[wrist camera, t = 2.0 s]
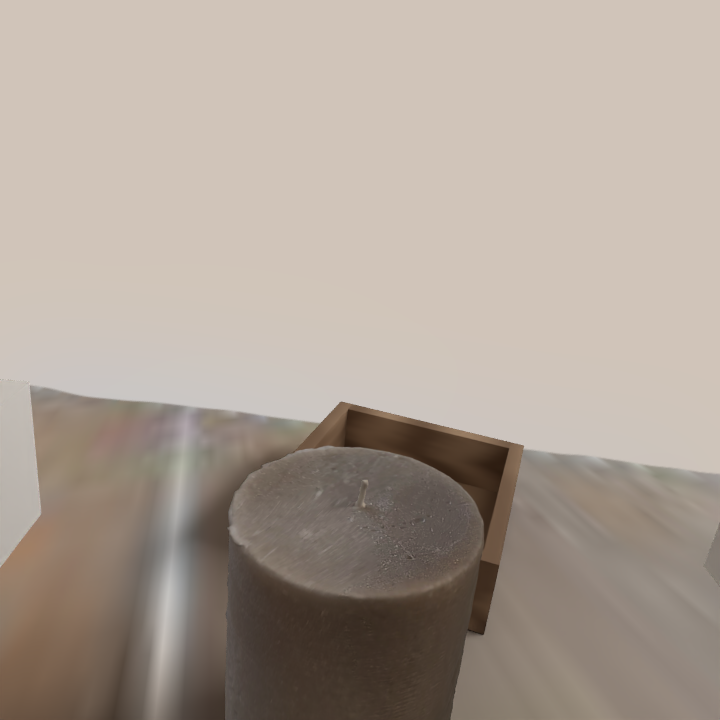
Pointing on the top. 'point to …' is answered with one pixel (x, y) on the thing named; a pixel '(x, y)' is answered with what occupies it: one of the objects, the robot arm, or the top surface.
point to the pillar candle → (348, 588)
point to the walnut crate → (448, 455)
